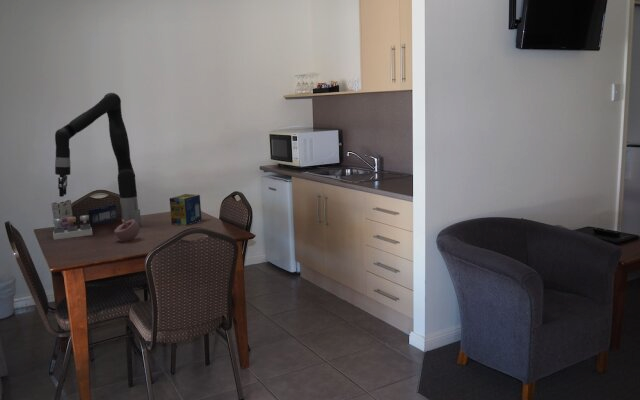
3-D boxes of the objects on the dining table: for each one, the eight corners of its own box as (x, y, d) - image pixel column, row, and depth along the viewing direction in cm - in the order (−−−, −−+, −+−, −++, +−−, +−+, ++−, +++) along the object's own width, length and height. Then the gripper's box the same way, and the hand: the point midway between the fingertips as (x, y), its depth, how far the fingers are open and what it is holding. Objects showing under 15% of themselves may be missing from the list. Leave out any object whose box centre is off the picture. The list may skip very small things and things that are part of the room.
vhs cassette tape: (92, 226, 323) (90, 209, 322) (89, 226, 325) (87, 209, 323) (118, 220, 338) (116, 204, 337) (115, 220, 340) (113, 204, 338)
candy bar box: (67, 227, 325) (63, 199, 322) (74, 227, 324) (71, 199, 321) (54, 231, 314) (50, 202, 311) (62, 231, 313) (58, 202, 310)
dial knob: (76, 224, 301) (75, 215, 300) (76, 225, 297) (75, 217, 296) (67, 225, 299) (66, 216, 298) (67, 226, 295) (66, 218, 295)
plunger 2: (89, 222, 304) (88, 214, 303) (89, 224, 300) (88, 216, 299) (80, 223, 302) (79, 215, 301) (80, 225, 298) (79, 217, 297)
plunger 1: (63, 225, 298) (62, 217, 298) (63, 227, 294) (62, 219, 294) (54, 226, 297) (53, 218, 296) (54, 228, 293) (53, 220, 292)
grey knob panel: (91, 232, 306) (90, 223, 305) (92, 234, 300) (91, 225, 299) (53, 237, 298) (52, 228, 298) (53, 239, 292) (52, 230, 291)
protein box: (171, 225, 318) (168, 198, 315) (187, 219, 332) (185, 193, 329) (186, 225, 314) (184, 198, 311) (202, 220, 328) (200, 194, 325)
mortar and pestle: (112, 240, 283) (109, 218, 282) (135, 236, 291) (133, 215, 289) (119, 244, 274) (117, 221, 272) (143, 240, 281) (141, 218, 279)
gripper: (68, 167, 295) (68, 197, 297) (72, 165, 309) (72, 194, 311) (52, 166, 293) (53, 197, 295) (57, 164, 306) (57, 193, 308)
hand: (62, 195), depth 303 cm, fingers open, 8 cm apart
